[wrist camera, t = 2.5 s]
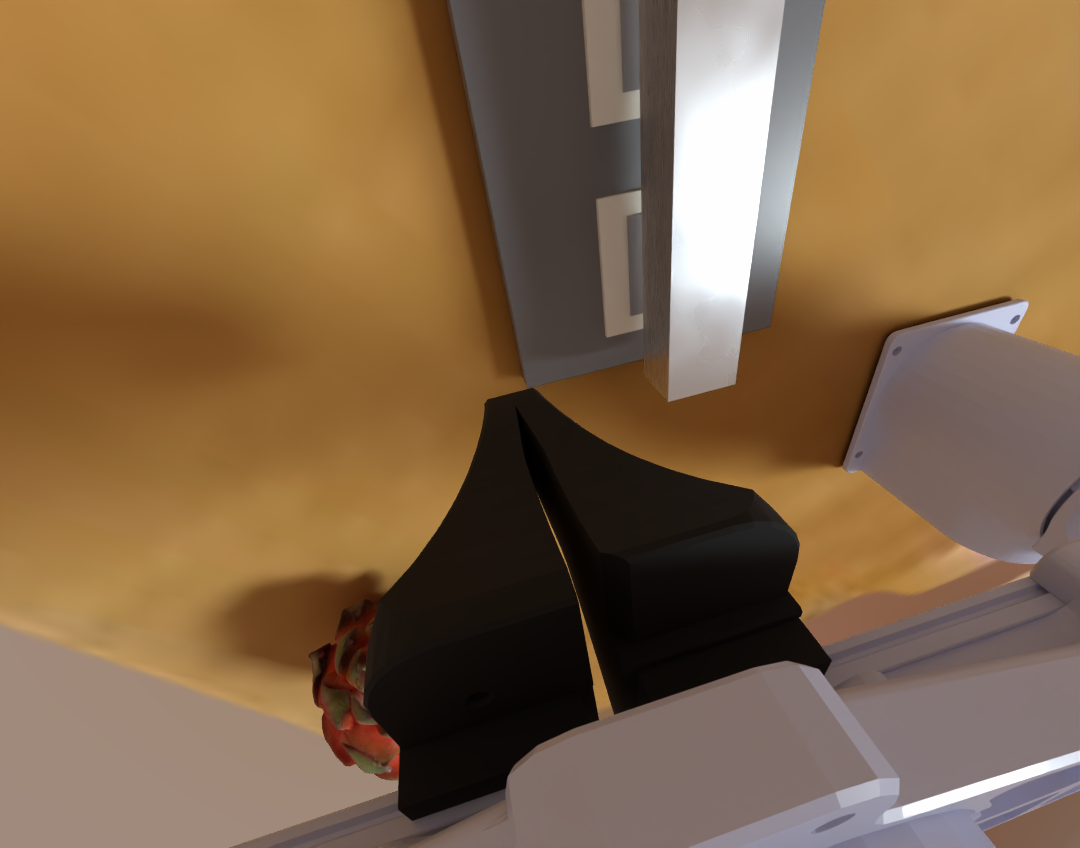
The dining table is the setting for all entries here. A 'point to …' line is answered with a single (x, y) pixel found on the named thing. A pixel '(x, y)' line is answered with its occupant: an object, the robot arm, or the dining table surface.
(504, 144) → the label plate
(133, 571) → the dining table surface
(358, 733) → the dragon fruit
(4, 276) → the dining table surface
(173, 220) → the dining table surface
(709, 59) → the swing bar
